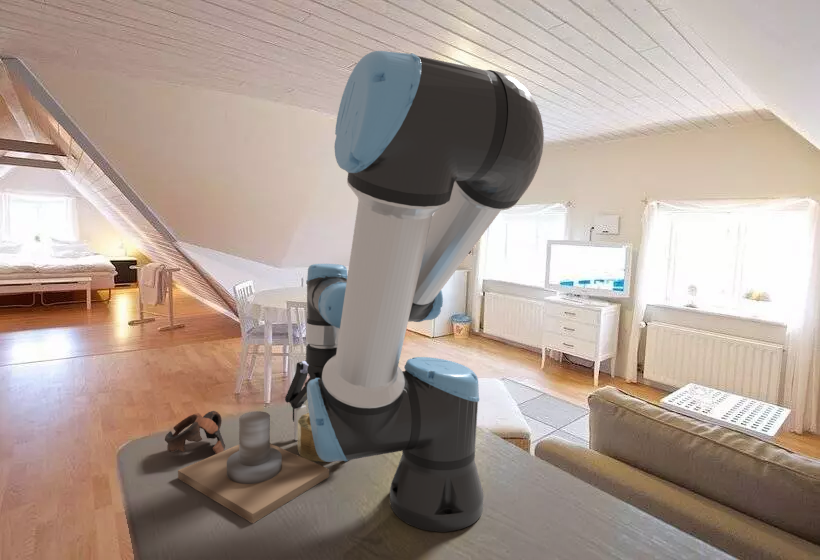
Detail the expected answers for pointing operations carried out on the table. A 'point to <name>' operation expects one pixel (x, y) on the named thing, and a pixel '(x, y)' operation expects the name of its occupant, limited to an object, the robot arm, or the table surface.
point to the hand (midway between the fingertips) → (324, 447)
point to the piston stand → (253, 472)
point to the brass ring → (306, 439)
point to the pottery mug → (196, 431)
